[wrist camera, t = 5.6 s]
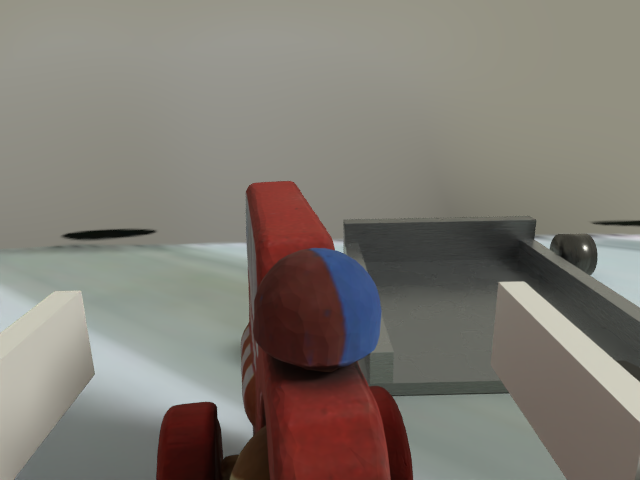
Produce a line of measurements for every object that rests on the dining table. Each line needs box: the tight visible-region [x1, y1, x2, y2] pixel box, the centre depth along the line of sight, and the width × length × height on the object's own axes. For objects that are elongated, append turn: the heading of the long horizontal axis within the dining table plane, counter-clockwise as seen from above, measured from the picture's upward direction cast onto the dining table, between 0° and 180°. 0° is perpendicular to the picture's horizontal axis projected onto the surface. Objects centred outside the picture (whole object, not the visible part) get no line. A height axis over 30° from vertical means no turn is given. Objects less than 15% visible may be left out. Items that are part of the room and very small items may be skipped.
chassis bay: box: [344, 216, 640, 395], centre depth 30 cm, size 20×18×4 cm
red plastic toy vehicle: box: [156, 181, 413, 480], centre depth 11 cm, size 7×12×10 cm, turn 9°
